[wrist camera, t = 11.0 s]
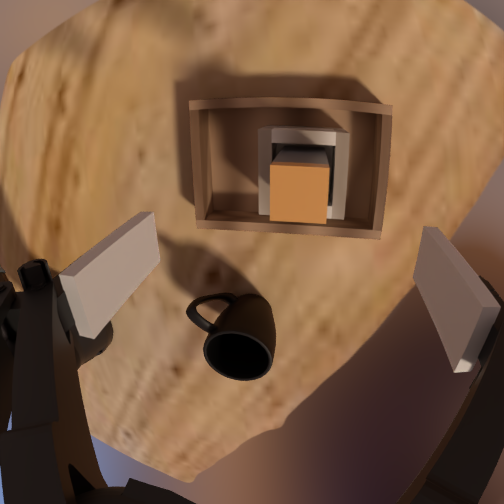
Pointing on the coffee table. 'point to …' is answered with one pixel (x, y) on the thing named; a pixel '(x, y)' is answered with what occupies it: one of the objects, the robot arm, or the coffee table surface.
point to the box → (268, 147)
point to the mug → (238, 336)
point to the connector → (299, 185)
